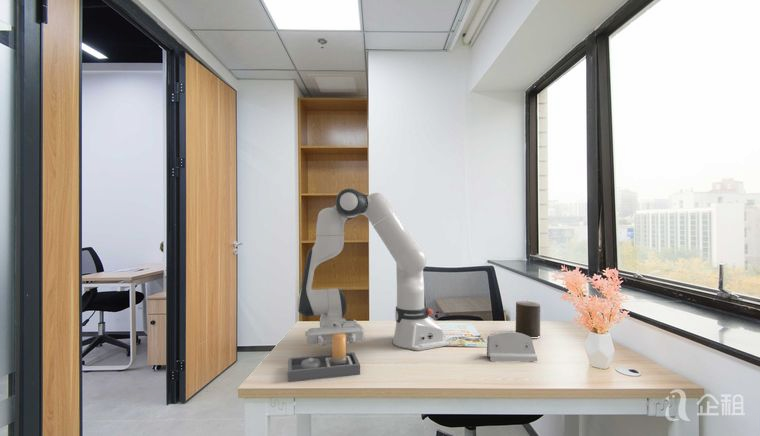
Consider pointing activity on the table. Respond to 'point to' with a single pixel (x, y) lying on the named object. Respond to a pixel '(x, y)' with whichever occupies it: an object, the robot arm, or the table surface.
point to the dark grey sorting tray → (321, 367)
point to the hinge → (510, 347)
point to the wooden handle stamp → (338, 349)
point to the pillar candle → (528, 318)
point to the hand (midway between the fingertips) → (338, 341)
